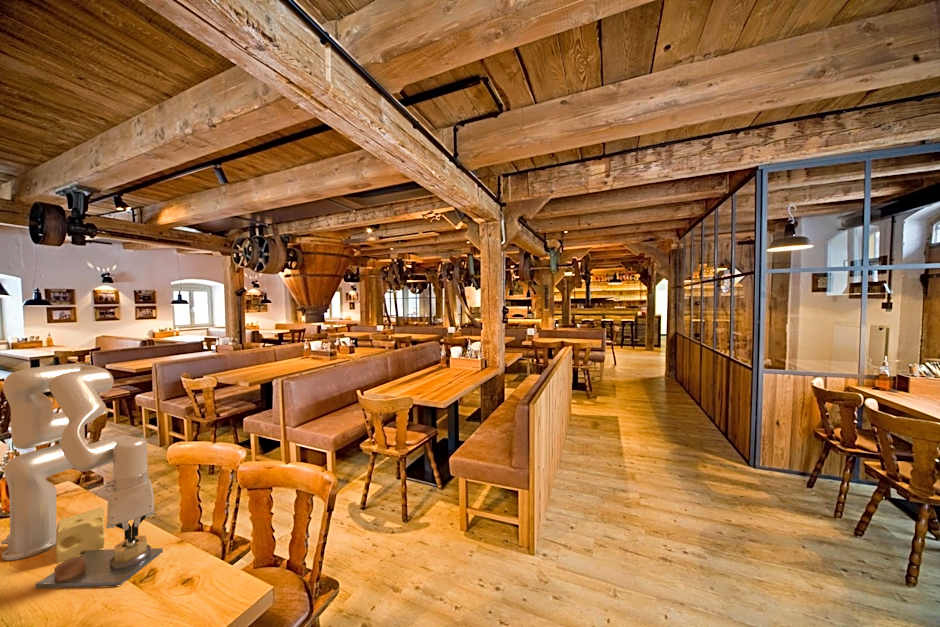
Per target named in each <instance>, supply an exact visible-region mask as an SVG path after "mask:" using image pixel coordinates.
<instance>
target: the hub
mask: <svg viewBox="0 0 940 627" xmlns="http://www.w3.org/2000/svg"><path fill="white" fill-rule="evenodd" d="M132 545H135V541H132V538H131V542H129V543H128V540H127V541H126V547H129V546H132ZM151 549H152V546H151V545H149V544H147V551H146V552H144V553H143V554H142V555H140V556H139V557H138V558H135V559H132V560H130V561H127V562H120V563H115V561H114V557H112V559H111V560H110V568H111V569H112V570H121V569H125V568H129V567H132V566H134V565H136V564H138V563H140V562H142V561H144V560H145V559H146V558H147V557H148V556H149V555H150V554H151Z"/></svg>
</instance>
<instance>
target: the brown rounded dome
mask: <svg viewBox="0 0 940 627" xmlns="http://www.w3.org/2000/svg"><path fill="white" fill-rule="evenodd" d="M85 570H86V557H85V556H80V555H78V556H76V557H73V558H70V559H67V560H65V561H62V562H59V564H56V566H55V567H54V572H55V581H57V582H61V581H65V580H69V579H71V578H74V577H76V576H78V575H80V574H81V573H82V572H84V571H85Z"/></svg>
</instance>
